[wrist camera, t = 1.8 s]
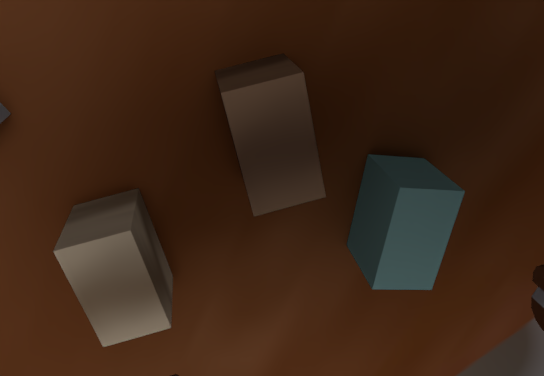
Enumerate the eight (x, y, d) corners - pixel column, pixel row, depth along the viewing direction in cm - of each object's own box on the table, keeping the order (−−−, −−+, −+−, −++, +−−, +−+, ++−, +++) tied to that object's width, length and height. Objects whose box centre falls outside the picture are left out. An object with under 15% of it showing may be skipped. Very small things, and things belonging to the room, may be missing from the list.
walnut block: (214, 70, 23) (221, 93, 19) (282, 53, 23) (303, 72, 19) (242, 177, 26) (253, 216, 22) (303, 160, 26) (325, 197, 22)
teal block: (367, 153, 27) (400, 187, 23) (423, 157, 27) (464, 191, 23) (346, 244, 29) (372, 289, 25) (398, 245, 30) (431, 289, 26)
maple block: (73, 204, 25) (53, 251, 21) (138, 187, 25) (130, 230, 21) (114, 291, 28) (103, 347, 24) (172, 275, 28) (171, 327, 24)
